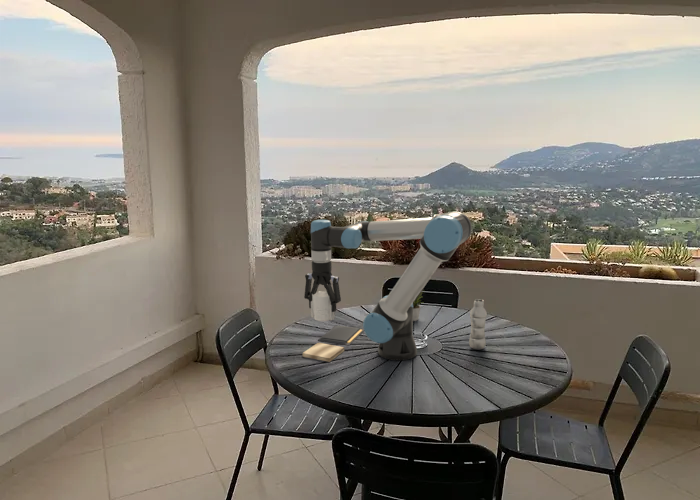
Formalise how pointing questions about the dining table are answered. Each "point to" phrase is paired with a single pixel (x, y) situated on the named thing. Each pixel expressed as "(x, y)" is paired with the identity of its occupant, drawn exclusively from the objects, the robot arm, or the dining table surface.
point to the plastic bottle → (478, 325)
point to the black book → (341, 335)
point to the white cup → (321, 306)
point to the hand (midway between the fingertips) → (322, 317)
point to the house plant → (416, 308)
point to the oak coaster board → (323, 352)
